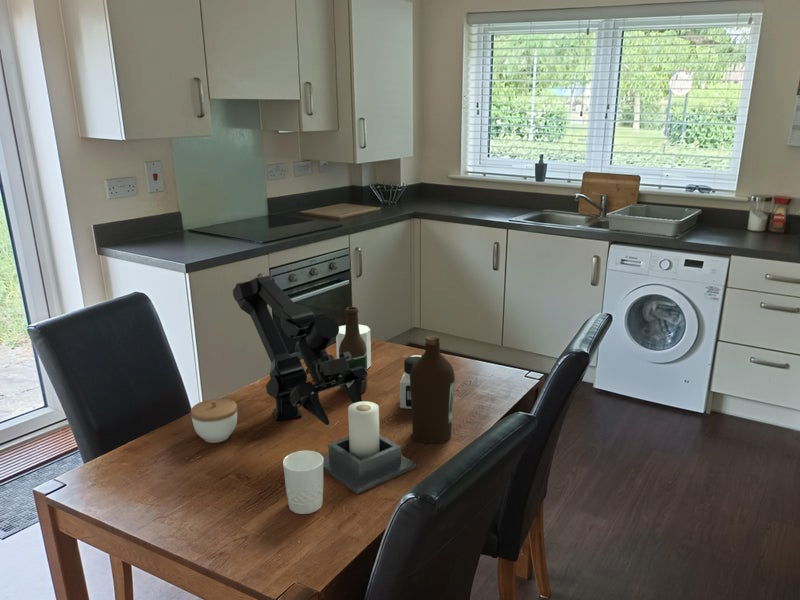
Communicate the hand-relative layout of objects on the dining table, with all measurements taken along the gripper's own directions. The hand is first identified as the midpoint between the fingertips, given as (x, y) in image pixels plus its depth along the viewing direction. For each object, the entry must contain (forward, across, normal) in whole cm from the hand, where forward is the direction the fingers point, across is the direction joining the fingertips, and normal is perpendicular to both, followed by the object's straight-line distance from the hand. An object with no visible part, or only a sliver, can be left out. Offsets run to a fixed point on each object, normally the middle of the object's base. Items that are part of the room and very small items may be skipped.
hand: (345, 418), depth 150 cm
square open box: (+11, 0, +1) cm, 11 cm away
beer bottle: (-13, +22, +26) cm, 37 cm away
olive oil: (+11, +21, +2) cm, 24 cm away
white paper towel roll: (+11, 0, 0) cm, 11 cm away
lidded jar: (-12, -19, +26) cm, 34 cm away
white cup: (+14, -18, -2) cm, 23 cm away
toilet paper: (-23, +33, +36) cm, 54 cm away
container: (0, +30, +13) cm, 33 cm away
